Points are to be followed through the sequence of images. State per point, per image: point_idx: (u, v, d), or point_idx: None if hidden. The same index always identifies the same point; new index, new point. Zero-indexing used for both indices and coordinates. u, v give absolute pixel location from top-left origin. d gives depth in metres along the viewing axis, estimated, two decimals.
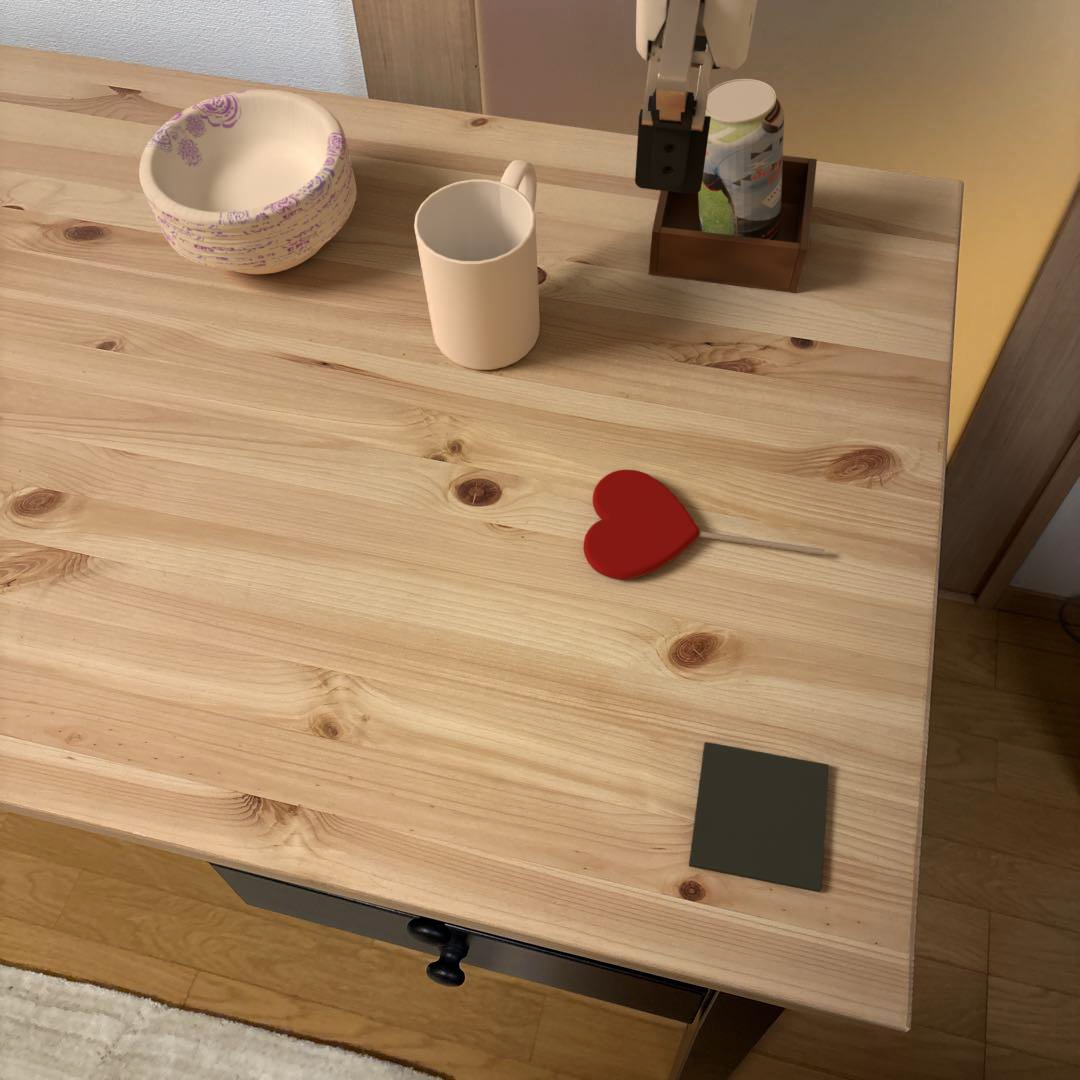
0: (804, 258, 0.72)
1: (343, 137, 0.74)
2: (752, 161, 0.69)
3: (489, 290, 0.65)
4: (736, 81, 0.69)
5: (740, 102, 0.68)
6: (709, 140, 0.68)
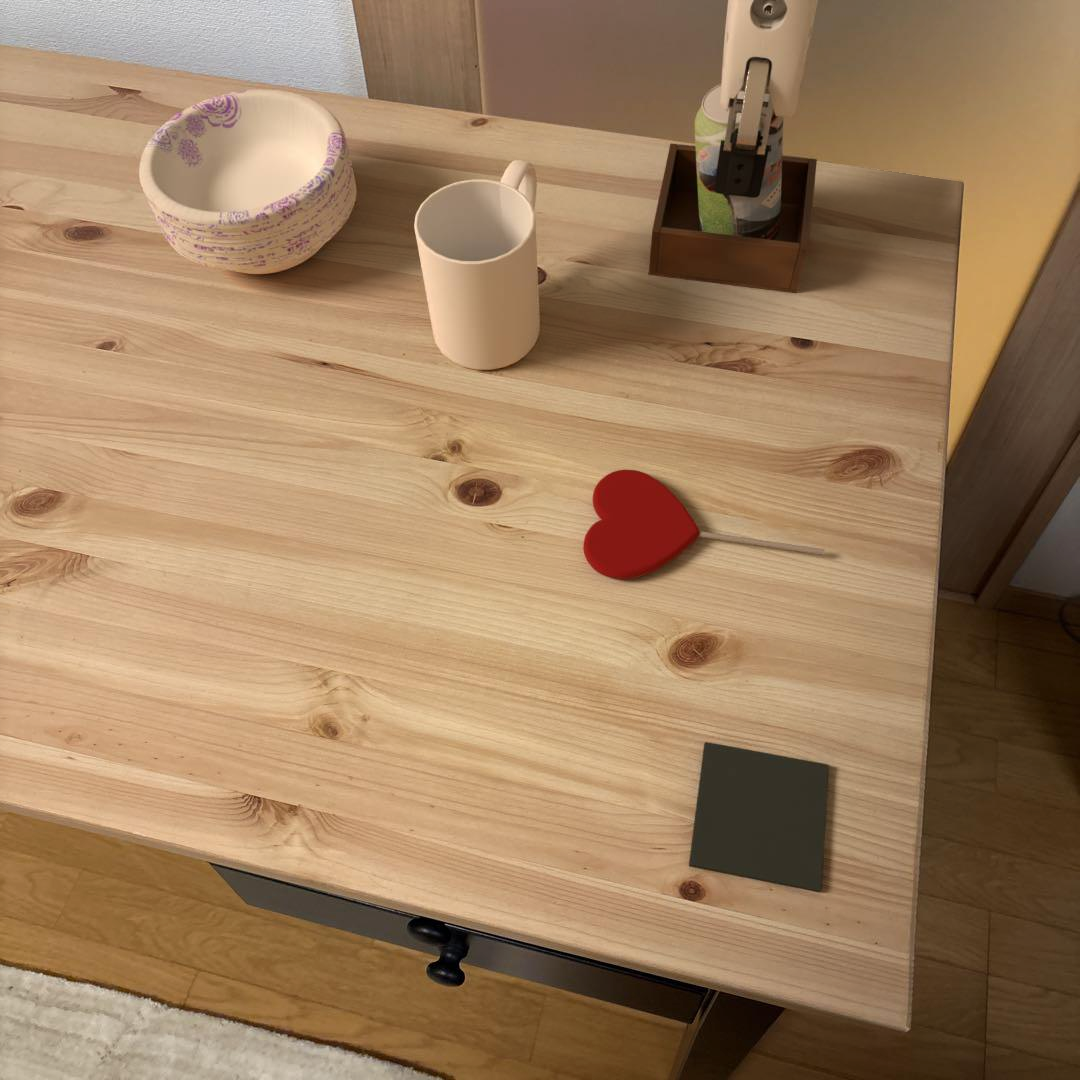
0: (804, 258, 0.72)
1: (343, 137, 0.74)
2: None
3: (489, 290, 0.65)
4: None
5: None
6: (708, 142, 0.68)
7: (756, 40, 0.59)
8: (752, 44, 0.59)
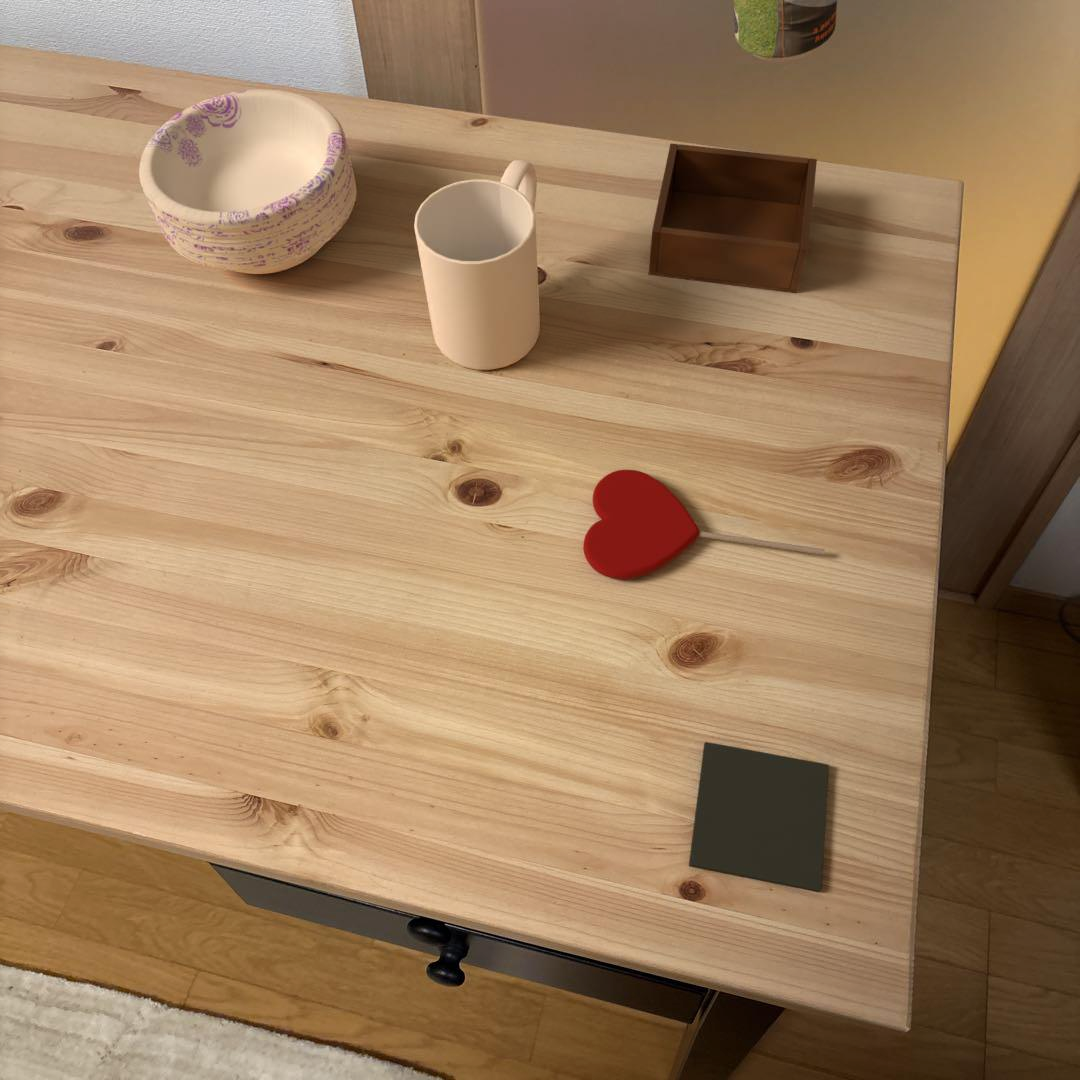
0: (804, 258, 0.72)
1: (343, 137, 0.74)
2: None
3: (489, 290, 0.65)
4: None
5: None
6: None
7: None
8: None
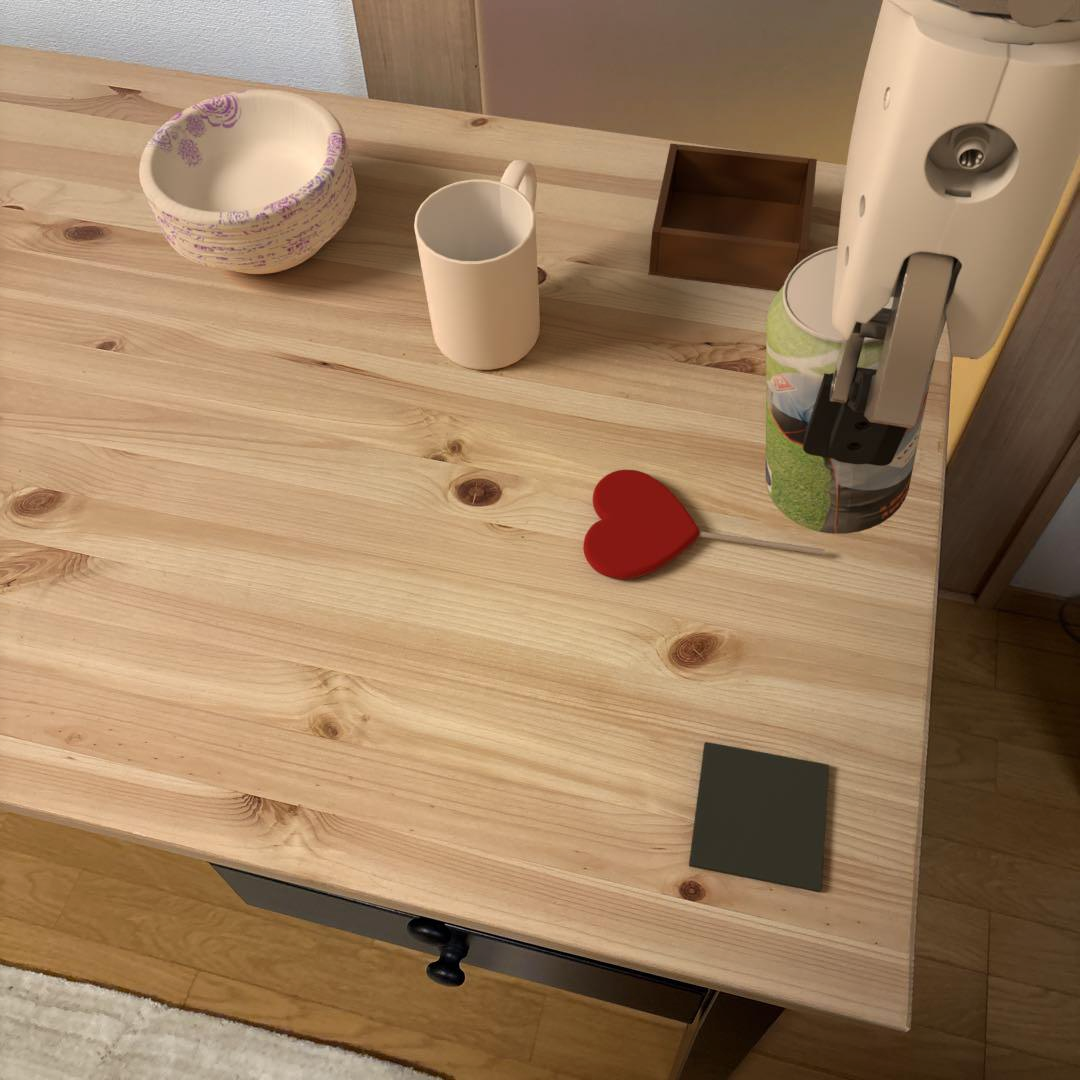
0: (804, 258, 0.72)
1: (343, 137, 0.74)
2: None
3: (489, 290, 0.65)
4: None
5: None
6: (794, 367, 0.35)
7: (932, 220, 0.26)
8: (921, 227, 0.26)
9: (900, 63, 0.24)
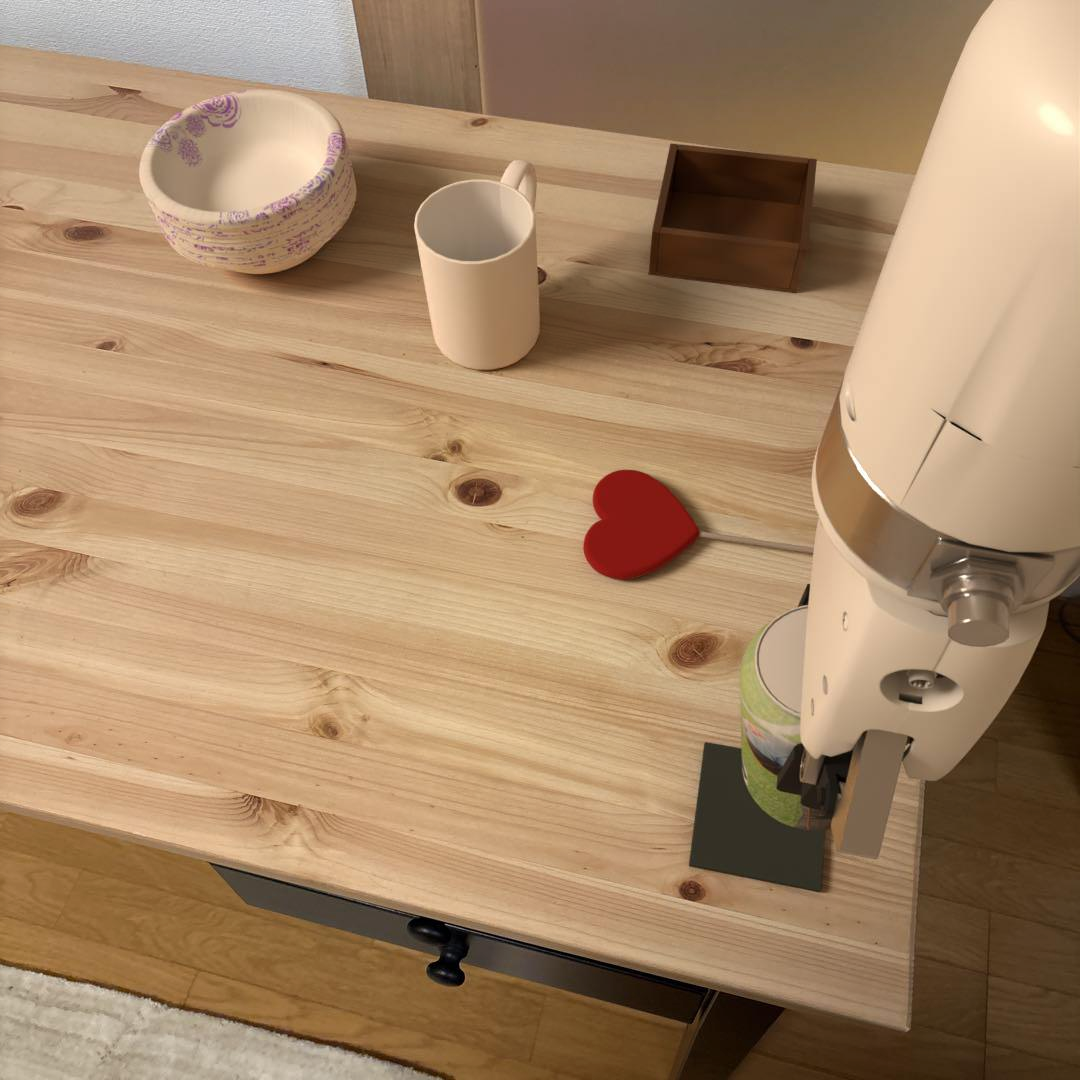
0: (804, 258, 0.72)
1: (343, 137, 0.74)
2: None
3: (489, 290, 0.65)
4: None
5: None
6: (767, 729, 0.38)
7: (888, 715, 0.28)
8: (879, 717, 0.29)
9: (856, 608, 0.27)
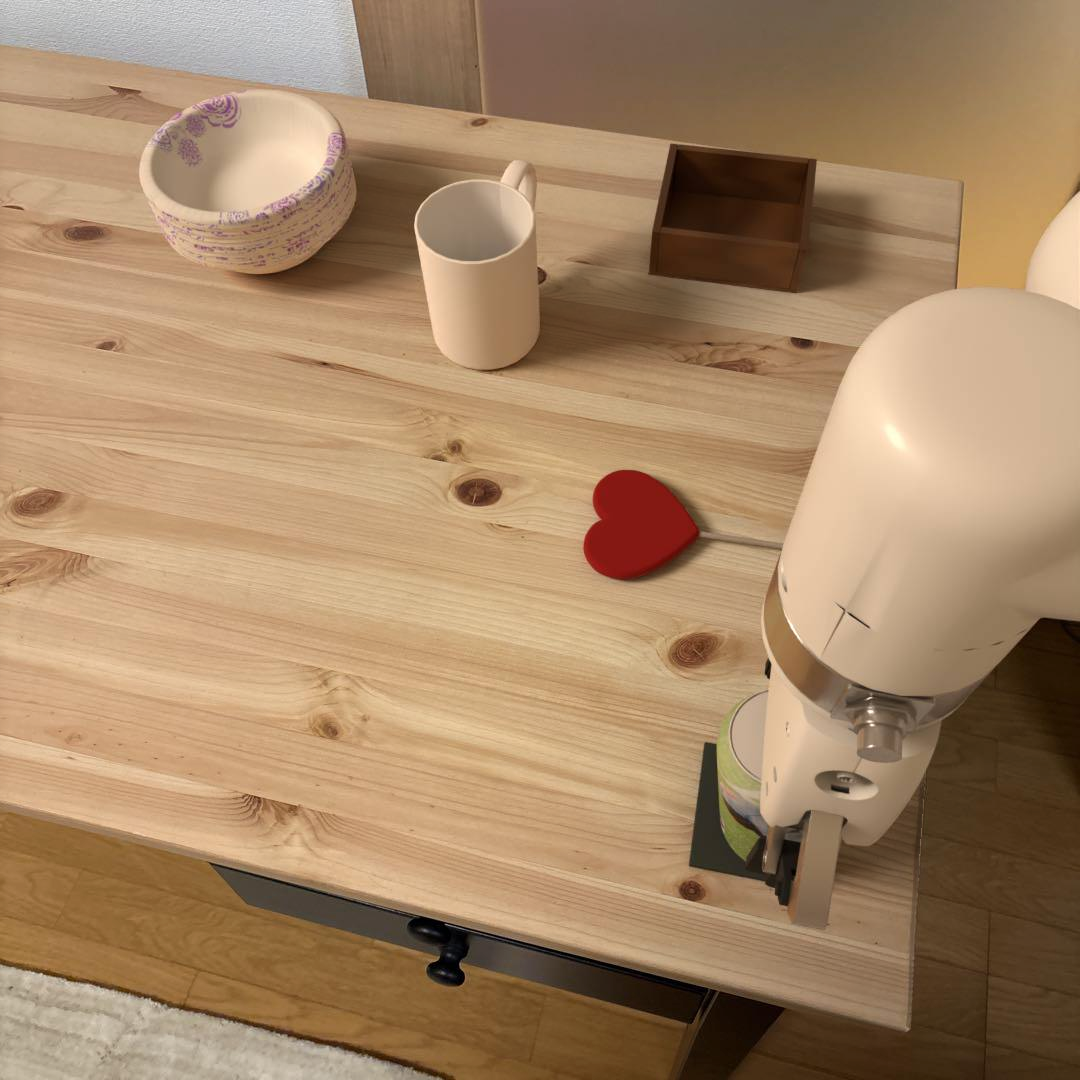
0: (804, 258, 0.72)
1: (343, 137, 0.74)
2: None
3: (489, 290, 0.65)
4: None
5: None
6: (738, 793, 0.46)
7: (823, 801, 0.36)
8: (816, 802, 0.36)
9: (794, 722, 0.34)
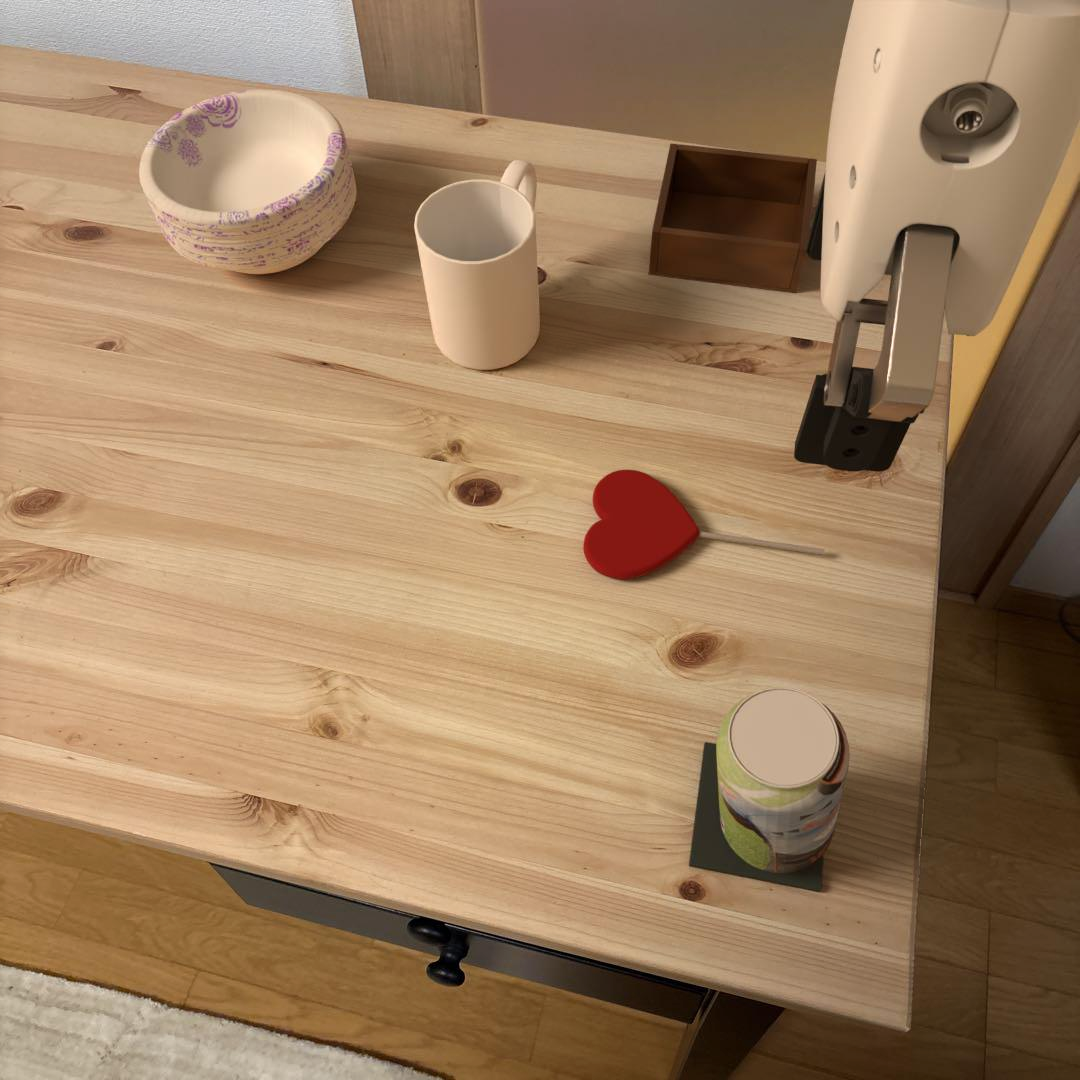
0: (804, 258, 0.72)
1: (343, 137, 0.74)
2: (803, 820, 0.46)
3: (489, 290, 0.65)
4: (777, 691, 0.47)
5: (784, 740, 0.45)
6: (738, 792, 0.46)
7: (928, 189, 0.24)
8: (917, 197, 0.25)
9: (892, 22, 0.23)
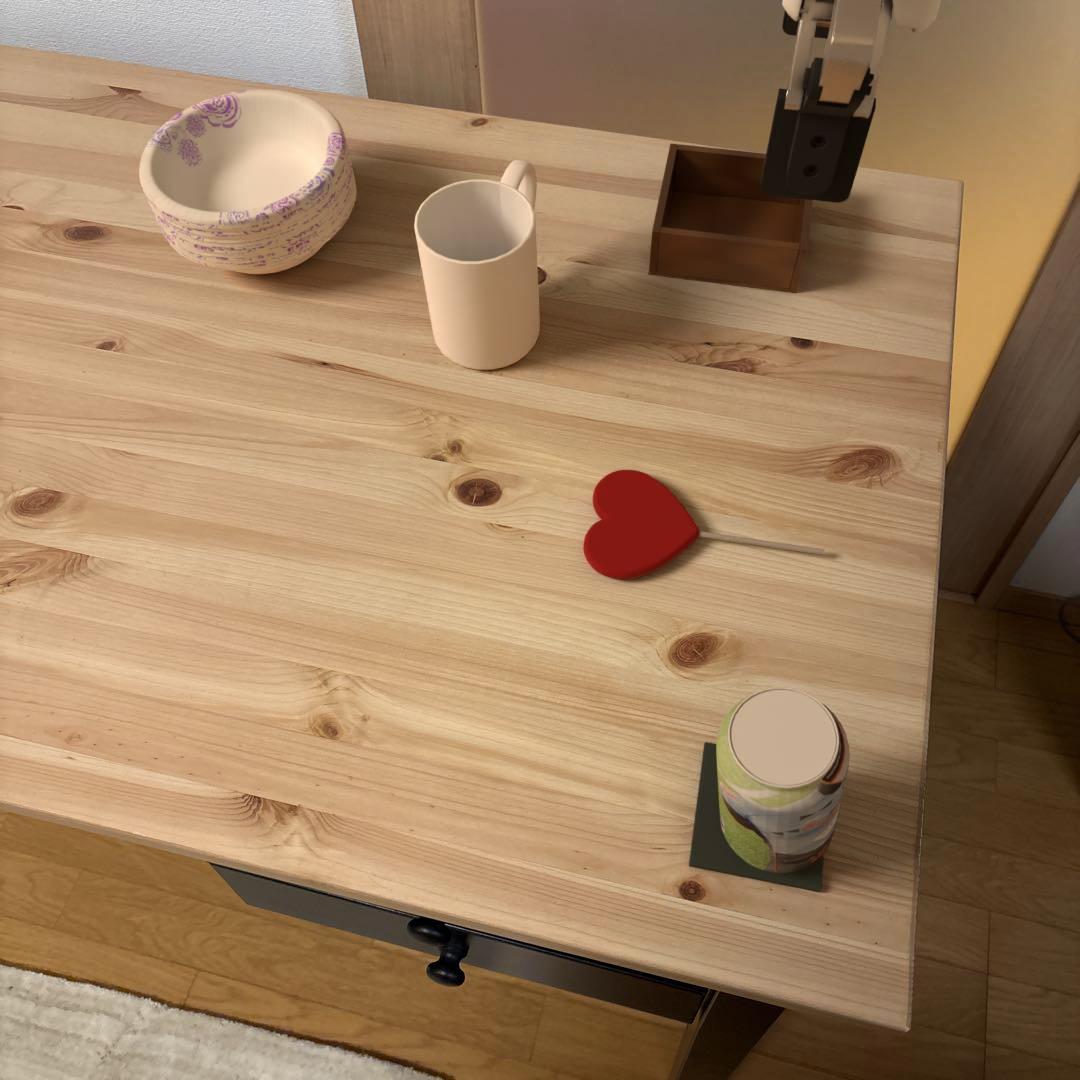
0: (804, 258, 0.72)
1: (343, 137, 0.74)
2: (803, 820, 0.46)
3: (489, 290, 0.65)
4: (777, 691, 0.47)
5: (784, 740, 0.45)
6: (738, 792, 0.46)
7: None
8: None
9: None
